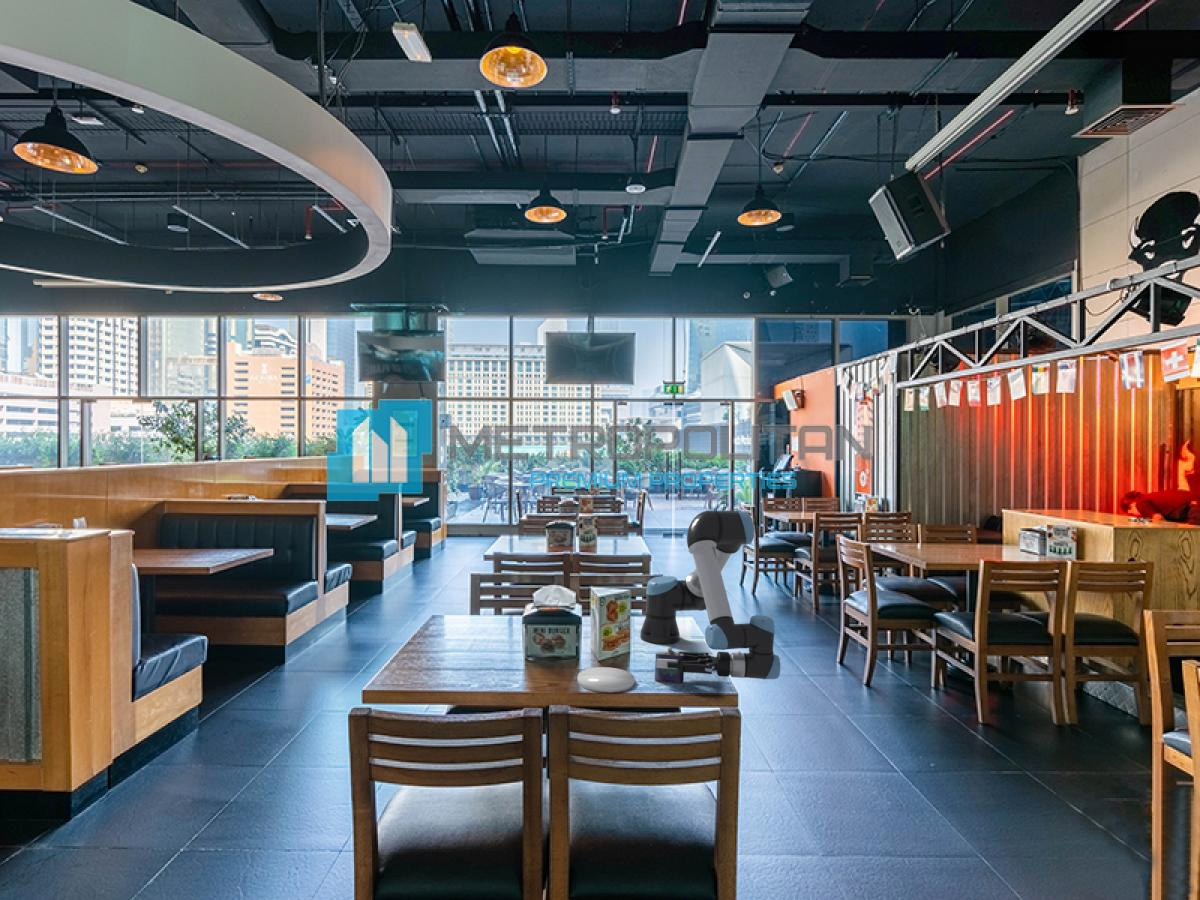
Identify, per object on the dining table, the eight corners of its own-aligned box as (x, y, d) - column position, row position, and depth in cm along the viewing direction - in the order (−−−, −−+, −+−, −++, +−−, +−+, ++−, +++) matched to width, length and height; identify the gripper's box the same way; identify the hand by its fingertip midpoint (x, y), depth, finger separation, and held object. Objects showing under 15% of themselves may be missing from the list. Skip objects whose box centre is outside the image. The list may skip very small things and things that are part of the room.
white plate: (580, 670, 228) (580, 665, 228) (634, 673, 227) (635, 669, 227) (574, 690, 210) (574, 685, 210) (633, 694, 209) (634, 689, 209)
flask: (654, 681, 220) (655, 648, 220) (654, 678, 223) (656, 645, 223) (683, 684, 219) (684, 650, 219) (683, 680, 222) (684, 647, 222)
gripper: (726, 644, 229) (656, 639, 230) (733, 662, 211) (657, 657, 212) (725, 666, 229) (655, 662, 231) (732, 686, 211) (656, 681, 212)
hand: (656, 660), depth 221 cm, fingers open, 5 cm apart
